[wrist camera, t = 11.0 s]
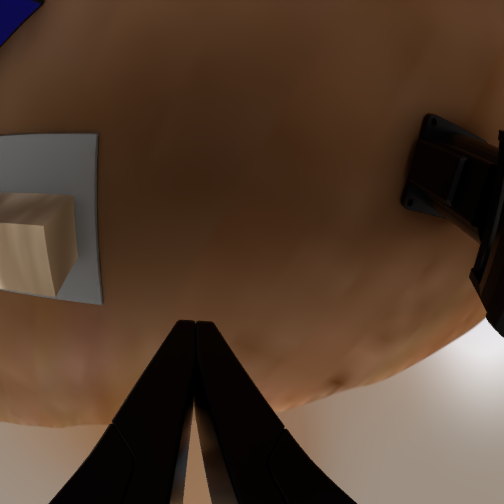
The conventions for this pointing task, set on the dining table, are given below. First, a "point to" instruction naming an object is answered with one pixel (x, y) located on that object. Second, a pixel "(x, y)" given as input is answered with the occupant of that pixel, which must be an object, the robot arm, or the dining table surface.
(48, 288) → the pillar
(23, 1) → the puzzle cube
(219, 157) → the dining table surface
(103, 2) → the dining table surface
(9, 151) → the mat
